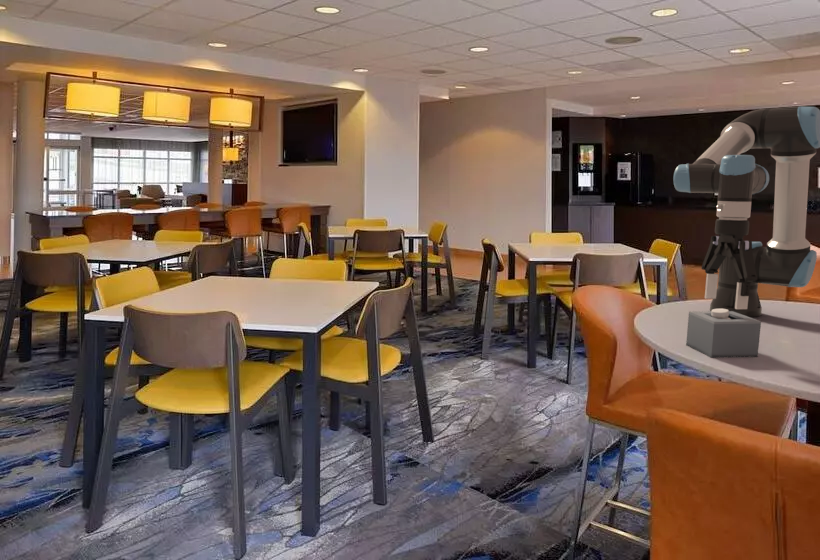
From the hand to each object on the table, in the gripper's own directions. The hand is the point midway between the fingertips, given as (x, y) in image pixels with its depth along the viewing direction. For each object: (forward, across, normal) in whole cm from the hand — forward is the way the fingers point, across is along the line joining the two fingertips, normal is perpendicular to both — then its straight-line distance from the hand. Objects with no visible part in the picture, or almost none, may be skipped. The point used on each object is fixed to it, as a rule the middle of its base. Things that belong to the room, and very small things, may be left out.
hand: (725, 303), depth 166 cm
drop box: (+12, 0, 0) cm, 12 cm away
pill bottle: (+12, 0, 0) cm, 12 cm away
